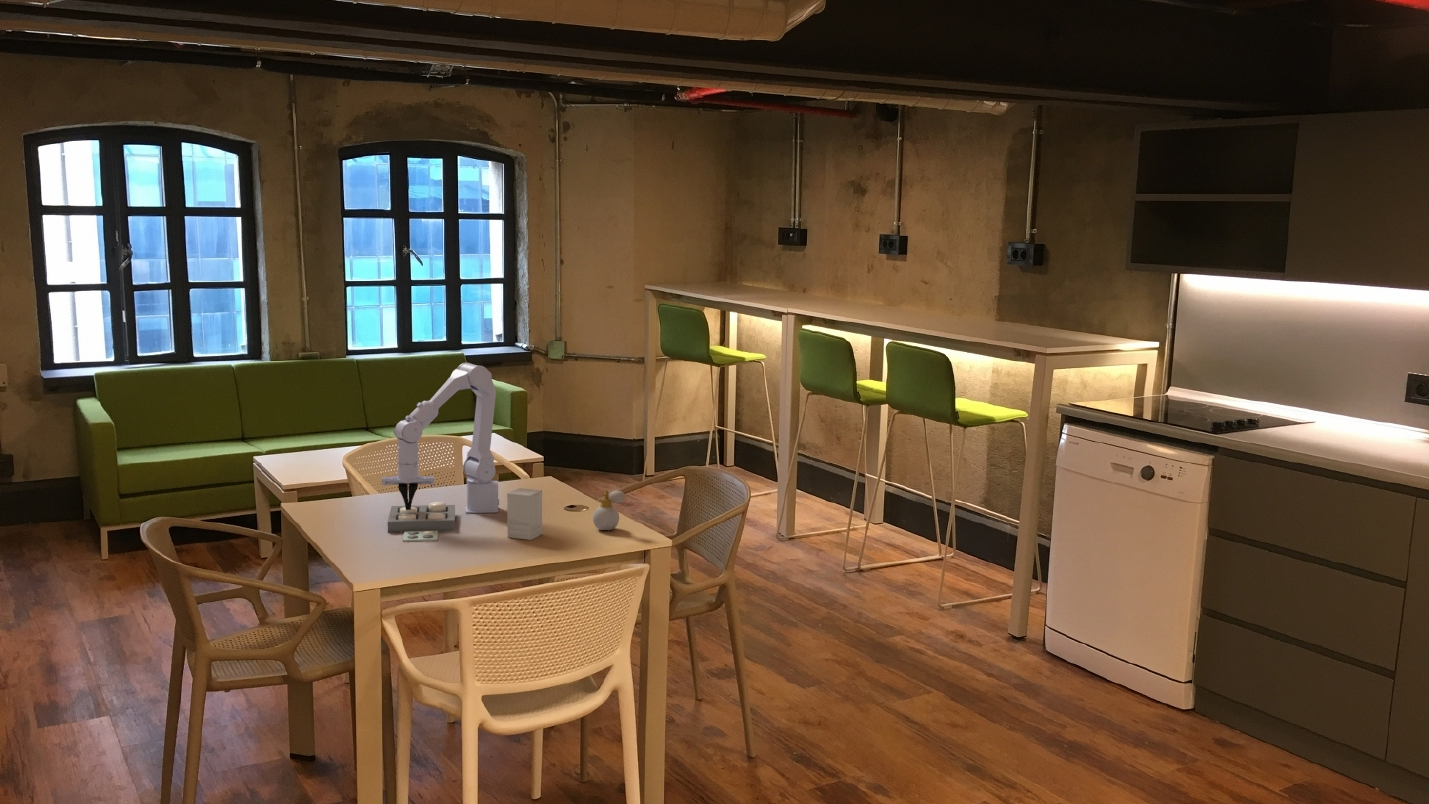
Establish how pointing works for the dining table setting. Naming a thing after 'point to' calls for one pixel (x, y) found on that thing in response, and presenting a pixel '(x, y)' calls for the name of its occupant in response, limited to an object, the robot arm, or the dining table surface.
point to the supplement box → (524, 513)
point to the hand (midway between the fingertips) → (408, 509)
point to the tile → (420, 536)
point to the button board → (421, 520)
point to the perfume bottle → (608, 511)
